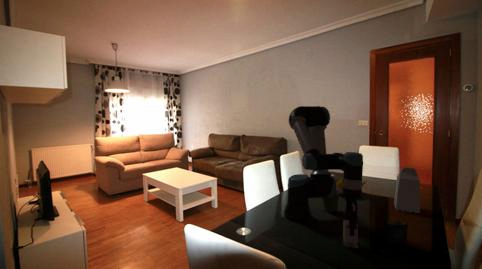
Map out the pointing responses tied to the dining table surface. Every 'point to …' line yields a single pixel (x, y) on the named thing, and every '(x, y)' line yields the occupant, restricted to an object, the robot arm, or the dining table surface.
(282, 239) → the dining table surface
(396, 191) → the milk
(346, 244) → the post
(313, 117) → the robot arm
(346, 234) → the cap
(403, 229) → the flask
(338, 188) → the fruit bowl
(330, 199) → the plant pot
